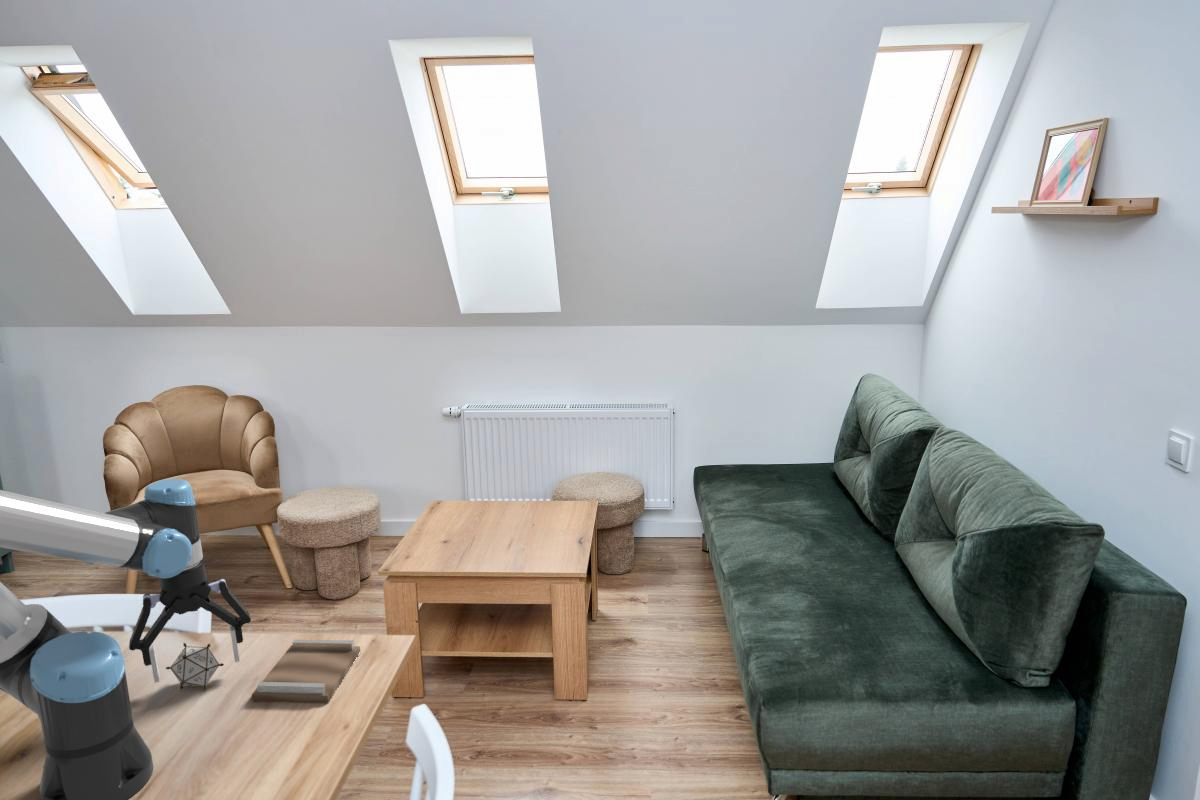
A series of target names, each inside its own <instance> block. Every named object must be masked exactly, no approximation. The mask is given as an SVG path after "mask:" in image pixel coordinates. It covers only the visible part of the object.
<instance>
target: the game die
mask: <svg viewBox="0 0 1200 800" xmlns="http://www.w3.org/2000/svg"><path fill="white" fill-rule="evenodd" d="M183 647H184V648H183V649H182V651H181V652H180V653H179V654H178V656H177V658H176V659H175V661H173V663H172V664H171V666H166V667H165V669H166V670H171V671H172V673H173V675H174V676H175V677H176V678H177V680H178V682H179V685H180V686H179V690H181V689H184V686H185V687H202V688H203V690H204V691H207V690H208V687H207V686H206V685H207V684H208V683H209V681H210V680H211V679H212V677H213V675H214V674H215V673H216V671H217V669H218V668H219V667H223V666H224V665H225V664H224V663H219V662H218V660H217V658H216V656H215V655H214V654H213V653H212V651H211V650H210V647H211V643H208V644H207V646H187V643H185V642H183Z"/></svg>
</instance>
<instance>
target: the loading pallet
mask: <svg viewBox="0 0 1200 800" xmlns="http://www.w3.org/2000/svg"><path fill="white" fill-rule="evenodd" d="M291 644H292V645H290V647H288V648H287V650H286V651H285V653H284V654H283V655H282V656H281V657H280V659H279V660H278V661H277V662H276V664H275V665H274V666H273V667H272V669H271V670H270V671H269V672H268V674H267V675H266V676H265V678H264V679H263V680H262V681H260V682H259V683H258V684H257V687H256V688H255V689H254V691H253V692H252V693H251V697H252V702H253V703H256V702H257V703H298V704H299V703H300V704H301V703H303V704H304V703H305V704H329V703H330V701H331V700H332V699H333V697H332V696H334V695H335V694H336V692H337V691H336V690H338V689H337V688H339V687H340V686H341V684H342V683H343V681H344V680H345V678H346V677H347V675H348V674H347V672H348V671H349V672H350V670H351V669H350V667H351V666H352V664H353V662H354V661H355V659H356V657H357V656H358V654H359V652H361V646H360V645H359V646H357V645H356V646H355V640H351V639H350V640H348V639H345V640H343V639H342V640H341V639H294V640H293V641H292V643H291ZM358 657H359V656H358ZM355 662H356V661H355ZM353 665H354V664H353ZM352 667H353V666H352ZM352 667H351V668H352ZM349 669H350V670H349ZM349 672H348V673H349ZM346 674H347V675H346ZM345 676H346V677H345ZM344 677H345V678H344ZM343 679H344V680H343ZM342 680H343V681H342ZM341 682H342V683H341ZM339 685H340V686H339ZM335 691H336V692H335ZM334 693H335V694H334ZM333 694H334V695H333ZM330 699H331V700H330Z"/></svg>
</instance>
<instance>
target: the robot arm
mask: <svg viewBox="0 0 1200 800" xmlns="http://www.w3.org/2000/svg"><path fill="white" fill-rule="evenodd" d="M193 491H194V490H193V488H192V485H191V483H190V482H189V481H187V480H185V479H183V478H167V479H162V480H158V481H155V482H153V483H151V484H149V485H147V486H146V487H145V489H144V496H143V498H144V499H143V500H140V501H138V502H136V503H135V502H134V503H133V504H129V505H126V506H122V507H119V508H115V509H113V510H109V511H106V512H101V511H97V510H92V509H88V508H87V509H86V508H82V507H77V506H74V505H69V504H64V503H60V502H55V501H52V500H48V499H42V498H38V497H34V496H28V495H26V494H25V495H24V494H20V493H16V492H11V491H5V490H2V489H0V548H2V549H3V548H4V549H9V550H15V551H22V552H26V553H32V554H37V555H39V554H40V555H44V556H51V557H57V558H63V559H67V560H68V559H69V560H75V561H81V562H84V563H85V564H88V565H94V564H98V565H105V566H111V567H116V568H120V569H126V570H131V571H136V572H140V573H145V574H146V575H147V576H149V577H154V578H158V579H159V584H160V593H159V594H153V595H151V594H150V593H144V594H143V595H142V608H141V610H140V613H139V616H138V618H137V621H136V624H135V627H134V629H133V631H132V634H131V636H130V639H129V643H128V645H129V647H128V648H129V650H130V651H136V650H138V651H141V653H142V659H143V665H144V666H145V667H148V666H151V669H152V674H153V680H154V683H159V682H160V672H159V666H158V660H157V655H156V649H155V643H154V641H155V640H156V639H157V638H158V636H159V635H160V633H161V631H162V630H163V629H164V628H165V626H166V625H167V623H168V622H169V621H170V620H171V619H172V617H173V616H174V615H175V614H178V615H183V614H186V613H189V612H192V613H193V612H197V611H198V610H199V609H201V608H202V609H203V610H205V611H206V612H210V613H211V614H212V615H214V616H216V617H217V618H218V619H220V620H222V621H223V622H225V624H228V625H229V631H230V636H231V644H232V650H233V651H232V652H233V657H234V658H233V659H234V662H235V663H238V662H240V655H239V649H238V644H241V643H243V641H244V636H243V629H242V628H243V626H244V625H246V624H249V623H251V621H252V618H251V615H250V612H249V611H248V610H247V609H246V608H245V606H244V605H243V604H242V603H241V602H240V600H238V598H237V597H236V596H235V594H234V593H233V592H232V591H231V590H230V589H229V587H228V585H227V583H226V578H224V577H220V578H218V580H217V581H215V582H210V583H209V582H208V580H207V573H206V569H205V567H206V565H205V562H204V560H203V557H204V555H203V548H202V541H201V537H200V529H199V524H198V515H197V510H196V504H197V503H196V500H195V496H194V492H193ZM212 591H214V592H215V593H216V594H220V595H221V596H222V598H223V599H224V600H225V601H226V603H227V604H228V605H229V606H230V607H231V608H232V609H233V610H234V612H235V613H236V614H237V615H238V616H236V615H235V614H234V613H232V612H230V611H229V610H228V609H226V608H224V607H223V606H221V605H220V604H219V603H217V602H216V601H214V600H213V599H212V598H211V597H210V596H209V595H210V593H211V592H212ZM159 602H160V603H161V604H162V605H163V606H164V608H162V611H161V613H160V614H159V616H158V617H157V619H156V620H155V622H153V624H152V625H151V627H150V628H149V630H148V631H147V632H146V634H145V636H144V637H143V638H142V635H143V632H144V631H145V628H146V625H147V623H148V621H149V617H150V616H151V611H152V610H151V609H153V608H155V607H156V605H157V604H158V603H159ZM126 673H127V672H126V661H125V657H124V656H123V653H122V649H121V646H120V644H119V643H118V641H117V640H116V639H115V638H114V637H112V636H111V635H109V634H106V633H104V632H100V631H95V630H94V631H91V632H89V633H88V632H87V631H85V630H84V631H83V630H81V631H74V632H72V631H71V630H69V629H68V628H67V627H66V626H65V625H64V624H63V623H62V622H61V621H60V620H58V619H57V617H55V616H54V615H53V614H52V613H51V612H50V611H49V610H48V609H47V608H46V607H45V606H44V605H42V604H40V603H39V604H38V603H32V604H31V603H30V604H29V603H28V604H25V603H24V602H22V601H21V599H19V598H18V597H17V596H16V595H15V594H14V593H13V592H12V591H11V590H10V589H8V587H6V586H5V585H4V583H2V581H0V691H2V692H4V693H6V694H8V695H10V696H11V697H13V698H14V699H15V700H17V701H18V702H19V703H21V704H22V705H24V706H25V707H26V708H27V709H29V710H30V711H32V712H33V713H34V714H36V715H37V716H38V718H39V723H40V726H41V727H40V728H41V732H42V735H43V741H44V745H45V750H46V752H45V753H46V756H45V761H44V764H43V765H44V766H43V770H42V774H41V778H40V782H39V798H40V800H129V799H130V798H131V797H132V796H134V795H135V794H137V793H138V792H140V790H141V789H143V788H144V786H146V784H147V783H148V782H149V780H150V779H151V777H152V775H153V772H154V763H153V756H152V752H151V750H150V749H149V746H148V745H147V743H146V742H145V741H144V739H143V738H142V735H141V734H140V733H139V731H138V730H137V729H136V727H135V725H134V720H133V712H132V705H131V700H130V694H129V693H130V692H129V688H128V687H129V686H128V681H127V674H126Z"/></svg>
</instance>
